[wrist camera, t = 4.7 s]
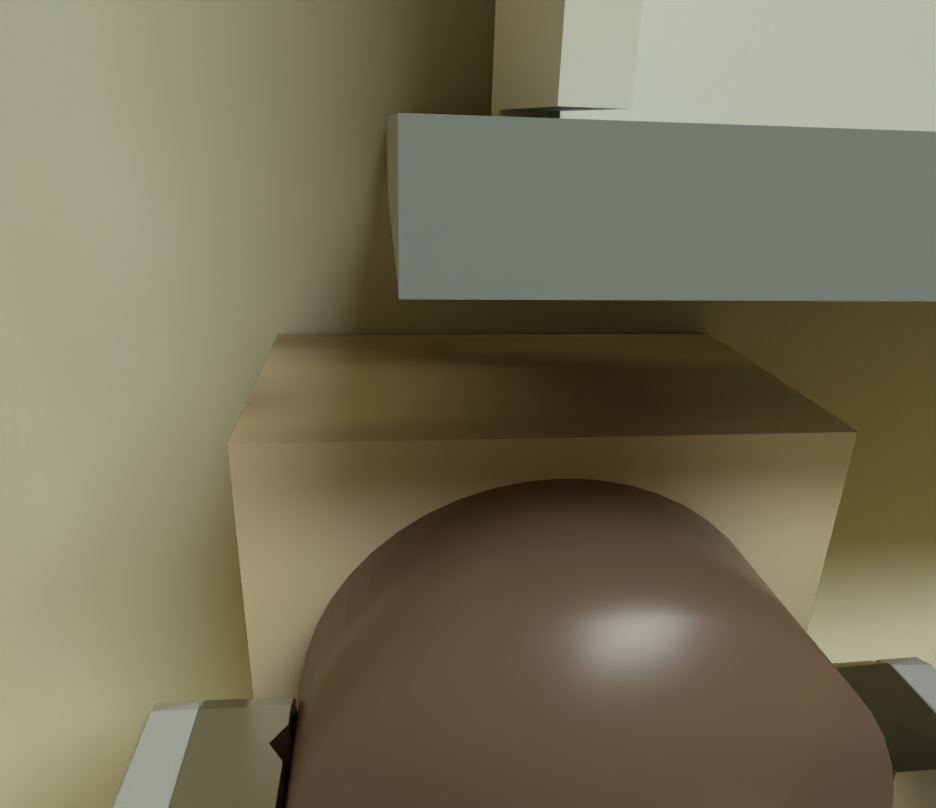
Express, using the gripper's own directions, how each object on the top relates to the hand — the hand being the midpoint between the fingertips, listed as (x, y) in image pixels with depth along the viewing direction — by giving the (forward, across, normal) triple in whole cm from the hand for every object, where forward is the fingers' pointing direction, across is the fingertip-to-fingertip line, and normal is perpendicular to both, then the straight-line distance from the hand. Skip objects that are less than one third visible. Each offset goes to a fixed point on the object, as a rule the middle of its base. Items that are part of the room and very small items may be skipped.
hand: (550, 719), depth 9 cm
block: (+4, 0, 0) cm, 4 cm away
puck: (0, 0, 0) cm, 0 cm away
